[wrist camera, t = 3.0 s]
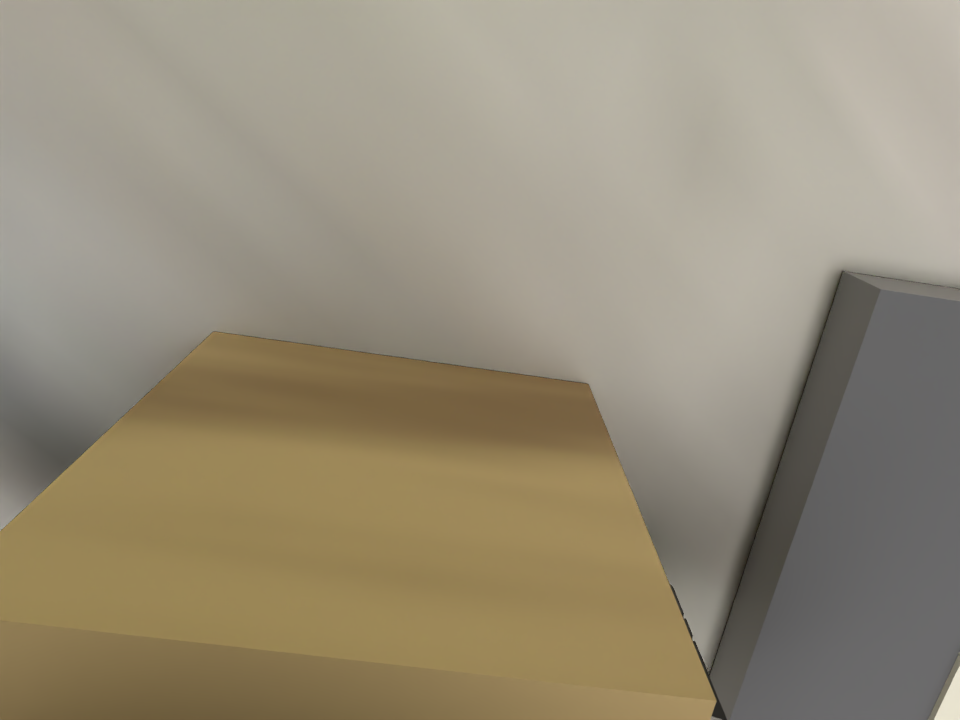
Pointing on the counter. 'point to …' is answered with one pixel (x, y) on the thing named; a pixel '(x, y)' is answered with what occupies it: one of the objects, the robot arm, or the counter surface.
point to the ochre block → (343, 554)
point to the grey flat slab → (860, 526)
